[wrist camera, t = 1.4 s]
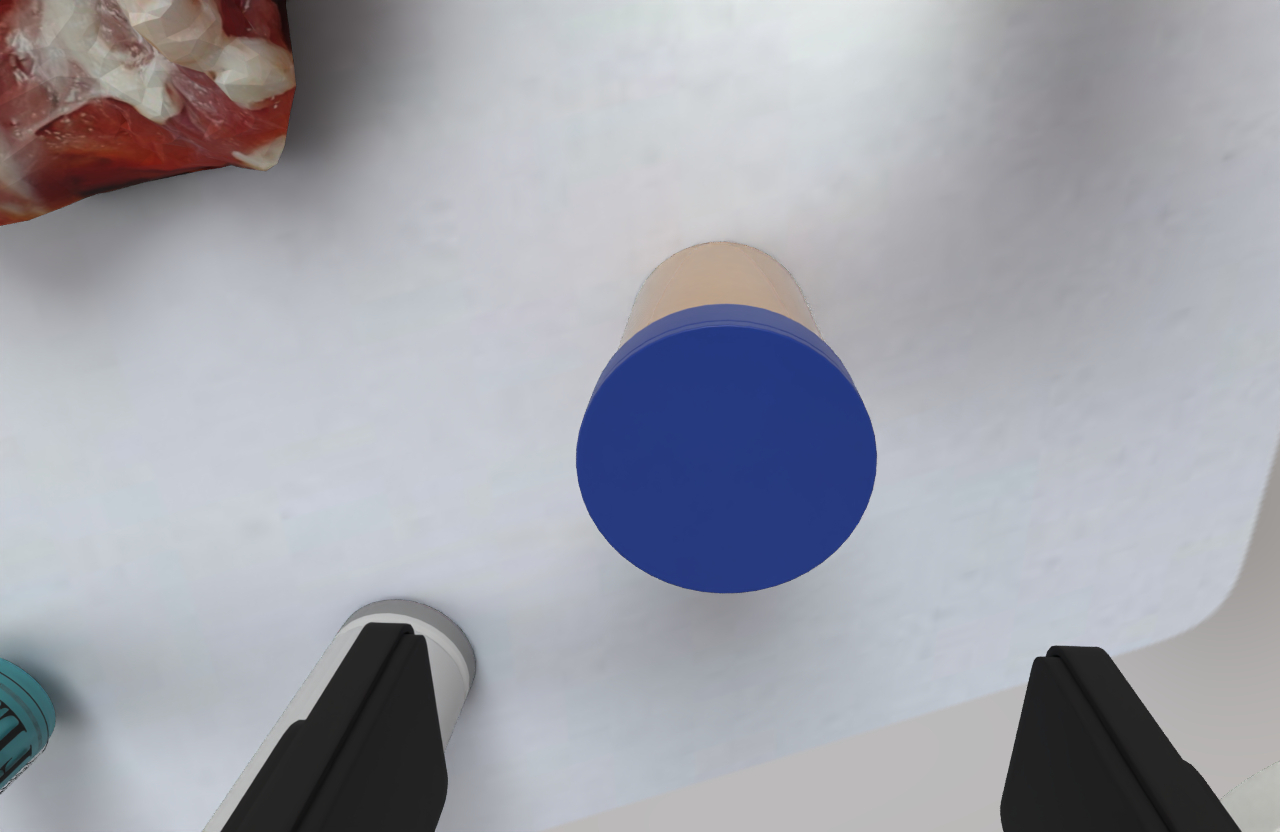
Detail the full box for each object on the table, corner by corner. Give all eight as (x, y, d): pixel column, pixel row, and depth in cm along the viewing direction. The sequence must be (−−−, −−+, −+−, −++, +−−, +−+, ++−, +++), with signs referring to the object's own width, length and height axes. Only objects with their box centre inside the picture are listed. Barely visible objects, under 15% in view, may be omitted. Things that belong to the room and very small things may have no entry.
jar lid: (922, 393, 19) (944, 424, 17) (767, 595, 21) (772, 638, 20) (672, 249, 18) (668, 265, 16) (542, 476, 20) (526, 511, 19)
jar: (845, 300, 27) (920, 418, 17) (747, 442, 30) (765, 616, 20) (686, 206, 26) (673, 276, 17) (599, 360, 29) (542, 500, 19)
